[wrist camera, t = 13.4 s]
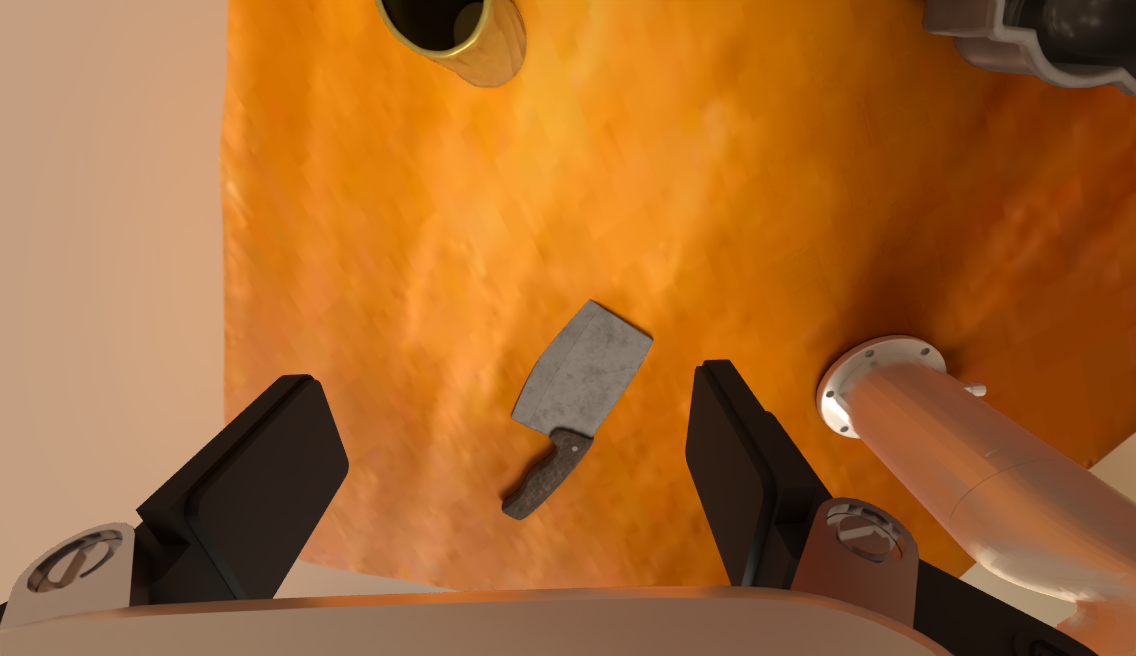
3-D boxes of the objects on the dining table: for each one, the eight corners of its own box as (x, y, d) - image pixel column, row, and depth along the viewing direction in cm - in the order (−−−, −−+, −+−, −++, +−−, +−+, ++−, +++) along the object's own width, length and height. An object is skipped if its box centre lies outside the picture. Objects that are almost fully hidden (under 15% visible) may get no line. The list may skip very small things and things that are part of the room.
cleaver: (540, 515, 53) (539, 529, 52) (467, 492, 51) (464, 506, 50) (660, 327, 42) (665, 336, 40) (573, 288, 40) (574, 296, 38)
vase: (467, 102, 32) (406, 92, 20) (426, 11, 30) (325, -68, 17) (540, 67, 31) (525, 33, 19) (504, -30, 29) (458, -146, 16)
